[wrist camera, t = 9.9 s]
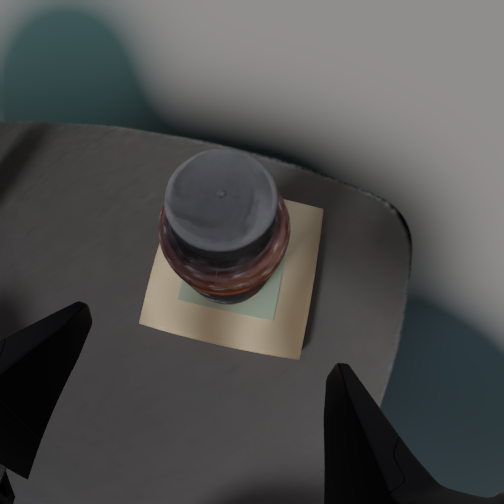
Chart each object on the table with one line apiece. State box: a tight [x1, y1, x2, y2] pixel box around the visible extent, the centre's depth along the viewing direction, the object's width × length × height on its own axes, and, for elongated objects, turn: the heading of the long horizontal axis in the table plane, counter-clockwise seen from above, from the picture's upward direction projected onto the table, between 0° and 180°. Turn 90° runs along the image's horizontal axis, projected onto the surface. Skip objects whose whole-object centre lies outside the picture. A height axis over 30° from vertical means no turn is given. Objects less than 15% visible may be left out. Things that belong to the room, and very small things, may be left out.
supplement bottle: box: [158, 148, 291, 305], centre depth 14 cm, size 6×6×11 cm
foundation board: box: [139, 199, 323, 360], centre depth 21 cm, size 12×12×2 cm
